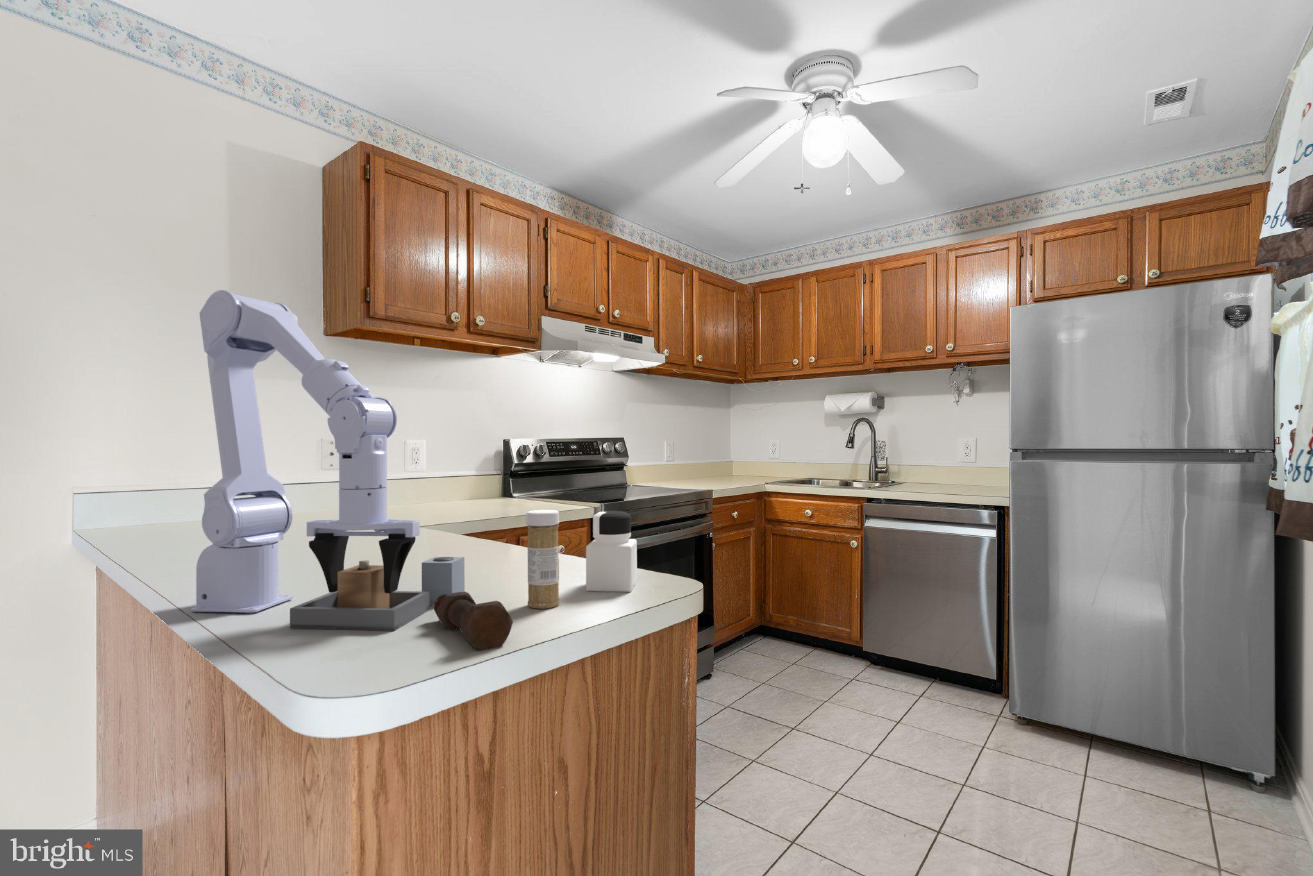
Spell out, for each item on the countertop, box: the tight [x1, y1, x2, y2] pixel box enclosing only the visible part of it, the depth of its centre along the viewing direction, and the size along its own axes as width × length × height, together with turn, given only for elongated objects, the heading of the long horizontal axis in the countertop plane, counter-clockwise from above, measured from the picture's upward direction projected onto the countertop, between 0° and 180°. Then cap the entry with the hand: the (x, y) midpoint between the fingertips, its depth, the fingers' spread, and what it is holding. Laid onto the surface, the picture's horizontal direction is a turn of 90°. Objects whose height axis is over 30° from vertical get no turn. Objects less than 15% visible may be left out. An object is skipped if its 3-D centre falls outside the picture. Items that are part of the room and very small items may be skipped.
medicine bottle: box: [585, 510, 638, 593], centre depth 98 cm, size 7×7×12 cm
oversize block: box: [421, 556, 466, 605], centre depth 90 cm, size 4×4×6 cm
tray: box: [289, 590, 431, 632], centre depth 81 cm, size 14×10×2 cm
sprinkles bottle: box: [525, 509, 560, 610], centre depth 87 cm, size 5×5×14 cm
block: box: [338, 560, 389, 608], centre depth 81 cm, size 4×4×7 cm
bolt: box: [433, 591, 514, 652], centre depth 75 cm, size 6×5×15 cm
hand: (363, 591), depth 81 cm, fingers open, 7 cm apart
